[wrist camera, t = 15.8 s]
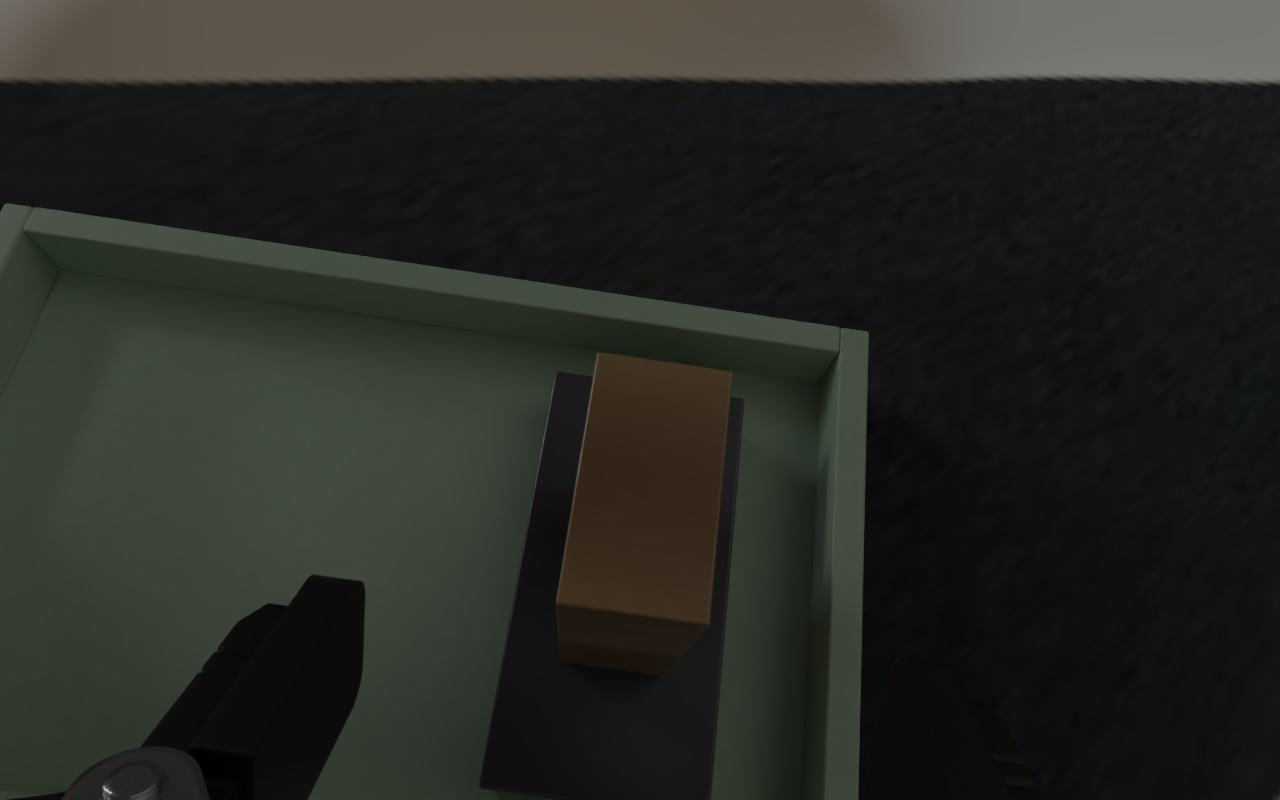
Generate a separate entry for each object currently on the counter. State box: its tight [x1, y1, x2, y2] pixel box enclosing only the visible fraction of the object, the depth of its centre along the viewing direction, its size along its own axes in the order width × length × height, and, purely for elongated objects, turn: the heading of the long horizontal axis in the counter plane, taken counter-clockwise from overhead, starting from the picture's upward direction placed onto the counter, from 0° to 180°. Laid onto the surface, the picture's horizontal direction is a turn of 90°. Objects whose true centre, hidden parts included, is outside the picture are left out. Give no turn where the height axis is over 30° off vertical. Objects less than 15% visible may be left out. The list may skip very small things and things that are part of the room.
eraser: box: [479, 352, 744, 800], centre depth 18 cm, size 10×5×9 cm, turn 173°
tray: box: [0, 204, 869, 800], centre depth 22 cm, size 24×15×3 cm, turn 83°
